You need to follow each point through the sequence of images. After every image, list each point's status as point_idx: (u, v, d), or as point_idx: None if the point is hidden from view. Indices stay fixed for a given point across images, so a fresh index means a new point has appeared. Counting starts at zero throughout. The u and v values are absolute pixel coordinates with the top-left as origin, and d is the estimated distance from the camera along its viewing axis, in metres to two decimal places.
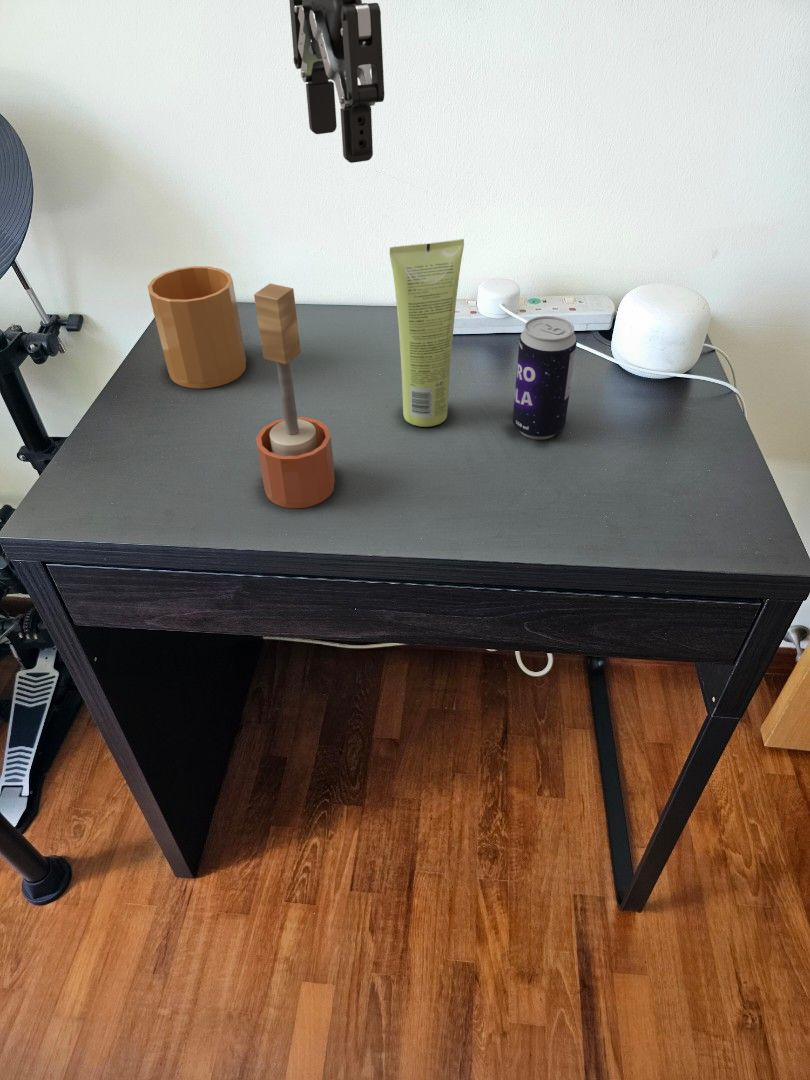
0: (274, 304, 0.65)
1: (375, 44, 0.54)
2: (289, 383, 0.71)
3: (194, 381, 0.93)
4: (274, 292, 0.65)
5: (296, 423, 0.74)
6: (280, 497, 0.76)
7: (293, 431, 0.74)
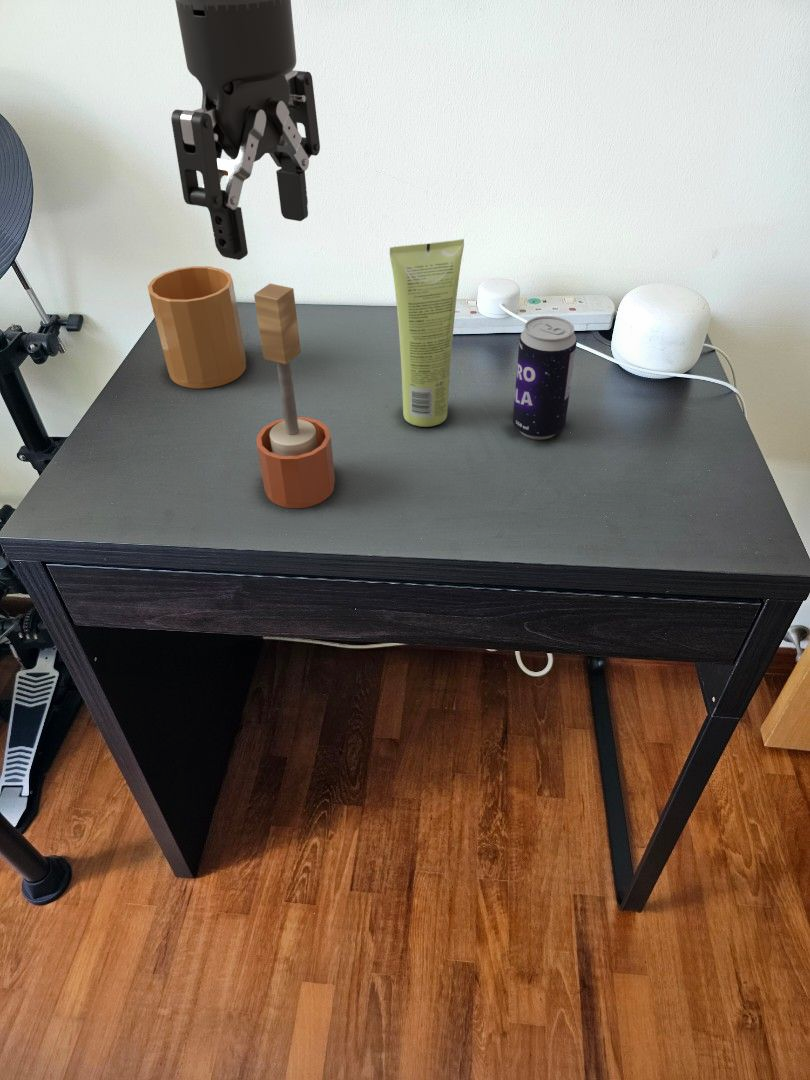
0: (274, 304, 0.65)
1: (198, 153, 0.52)
2: (289, 383, 0.71)
3: (194, 381, 0.93)
4: (274, 292, 0.65)
5: (296, 423, 0.74)
6: (280, 497, 0.76)
7: (293, 431, 0.74)
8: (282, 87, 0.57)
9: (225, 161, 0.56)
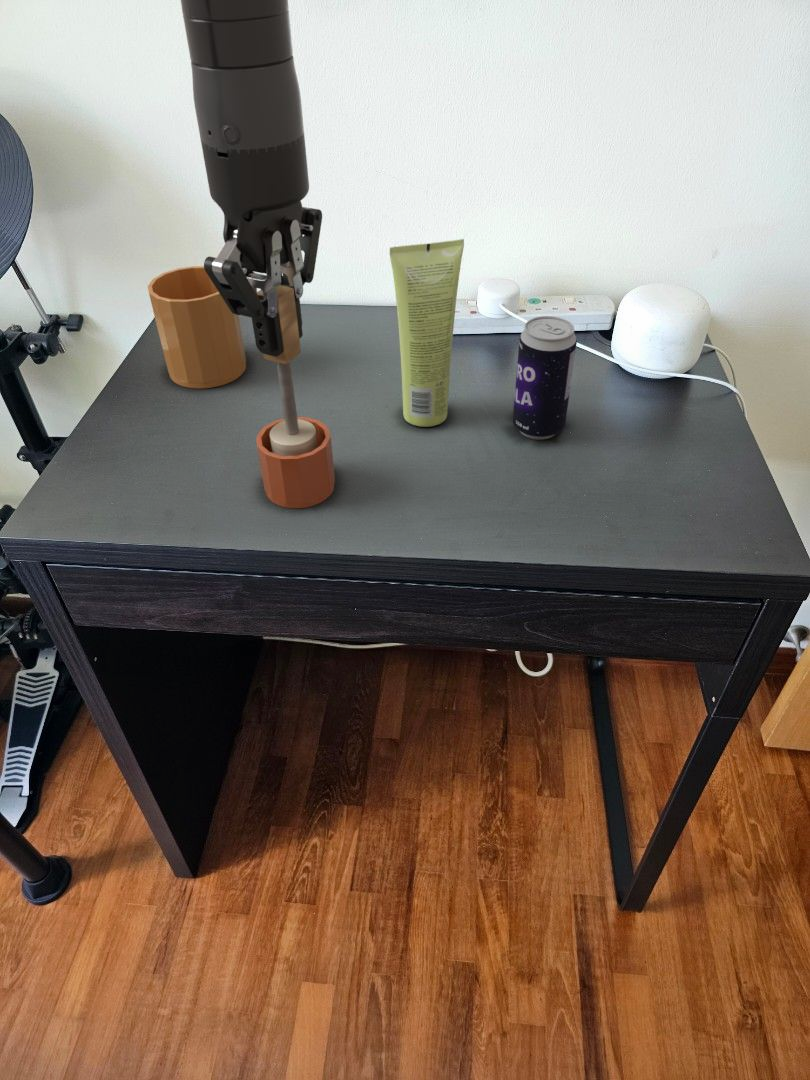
0: None
1: (235, 291, 0.60)
2: (289, 383, 0.71)
3: (194, 381, 0.93)
4: None
5: (296, 423, 0.74)
6: (280, 497, 0.76)
7: (293, 431, 0.74)
8: (295, 206, 0.63)
9: (257, 281, 0.63)
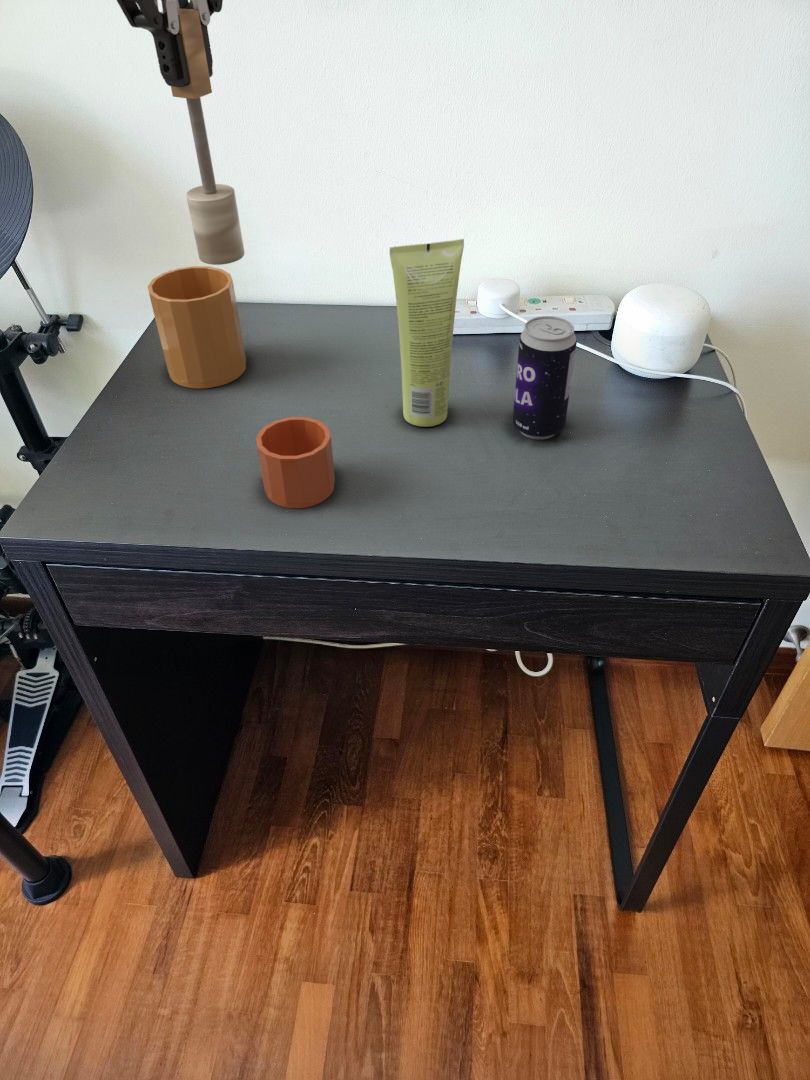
0: None
1: None
2: (202, 128, 0.69)
3: (194, 381, 0.93)
4: None
5: (213, 180, 0.72)
6: (280, 497, 0.76)
7: (210, 189, 0.72)
8: None
9: None
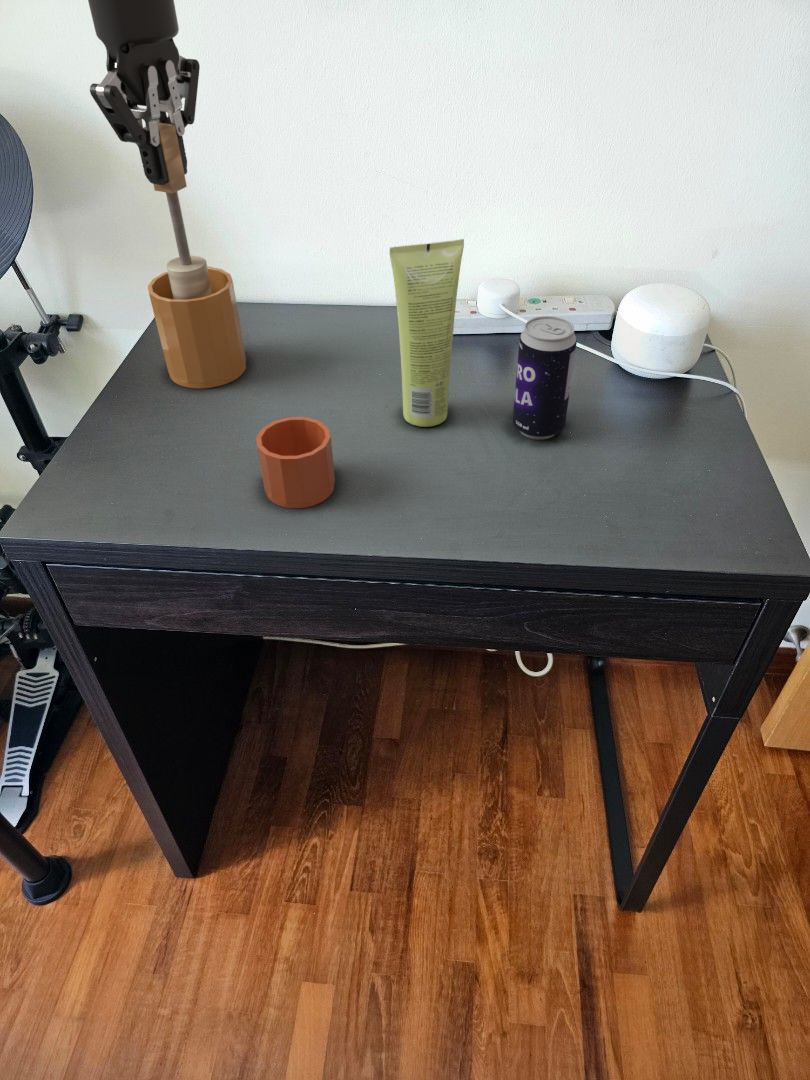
0: None
1: (117, 114, 0.73)
2: (178, 214, 0.84)
3: (194, 381, 0.93)
4: (158, 127, 0.79)
5: (188, 254, 0.87)
6: (280, 497, 0.76)
7: (186, 261, 0.88)
8: (171, 51, 0.76)
9: (139, 112, 0.76)
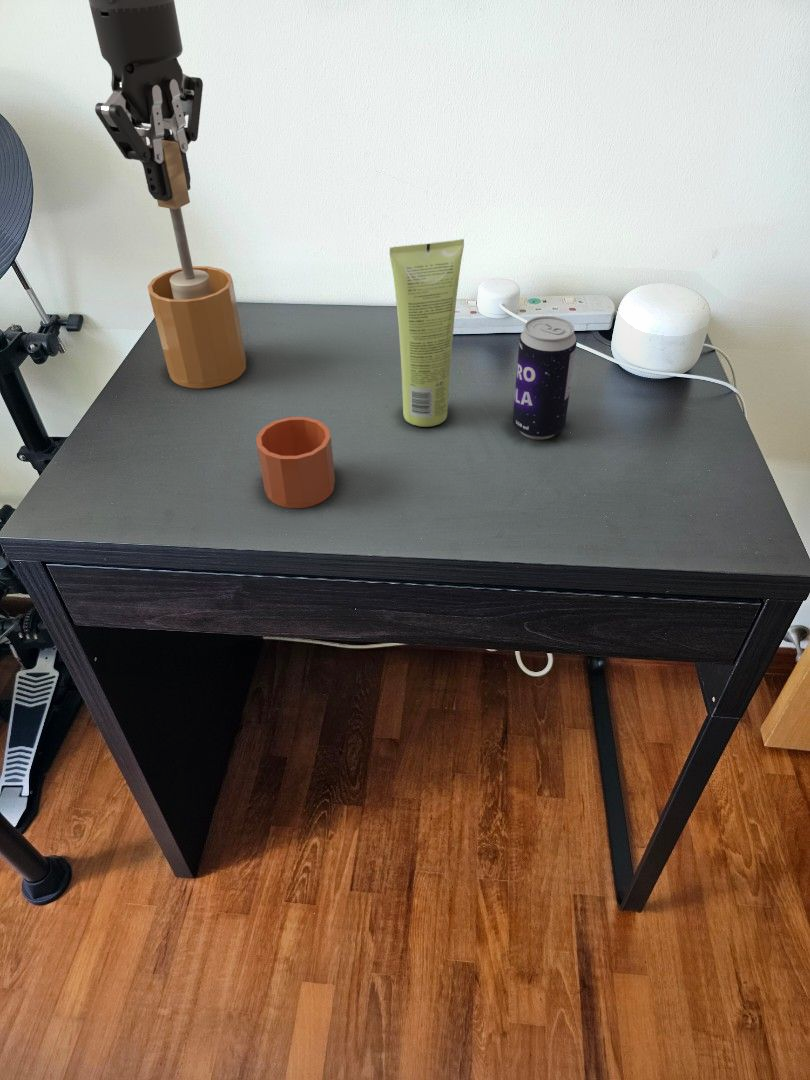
0: None
1: (122, 132, 0.75)
2: (182, 229, 0.85)
3: (194, 381, 0.93)
4: (162, 144, 0.80)
5: (191, 268, 0.89)
6: (280, 497, 0.76)
7: (189, 275, 0.89)
8: (175, 69, 0.78)
9: (144, 130, 0.77)
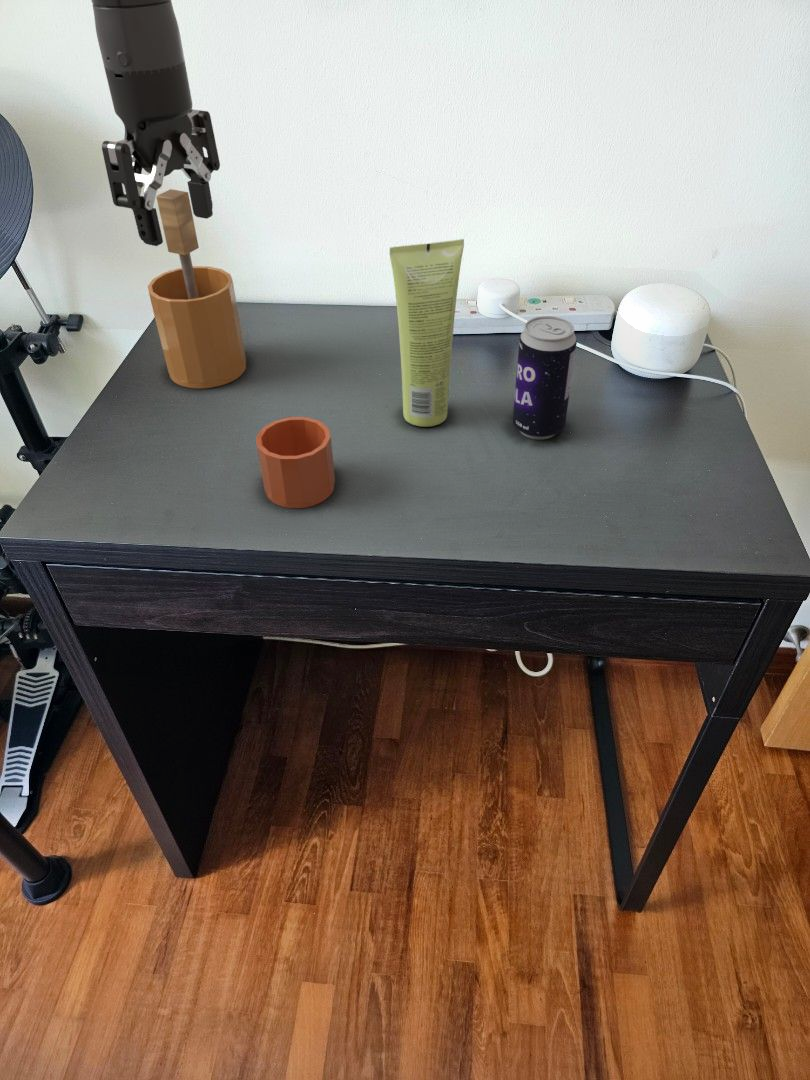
0: (171, 203, 0.83)
1: (121, 171, 0.76)
2: (191, 273, 0.89)
3: (194, 381, 0.93)
4: (172, 194, 0.83)
5: None
6: (280, 497, 0.76)
7: None
8: (185, 123, 0.81)
9: (143, 176, 0.79)
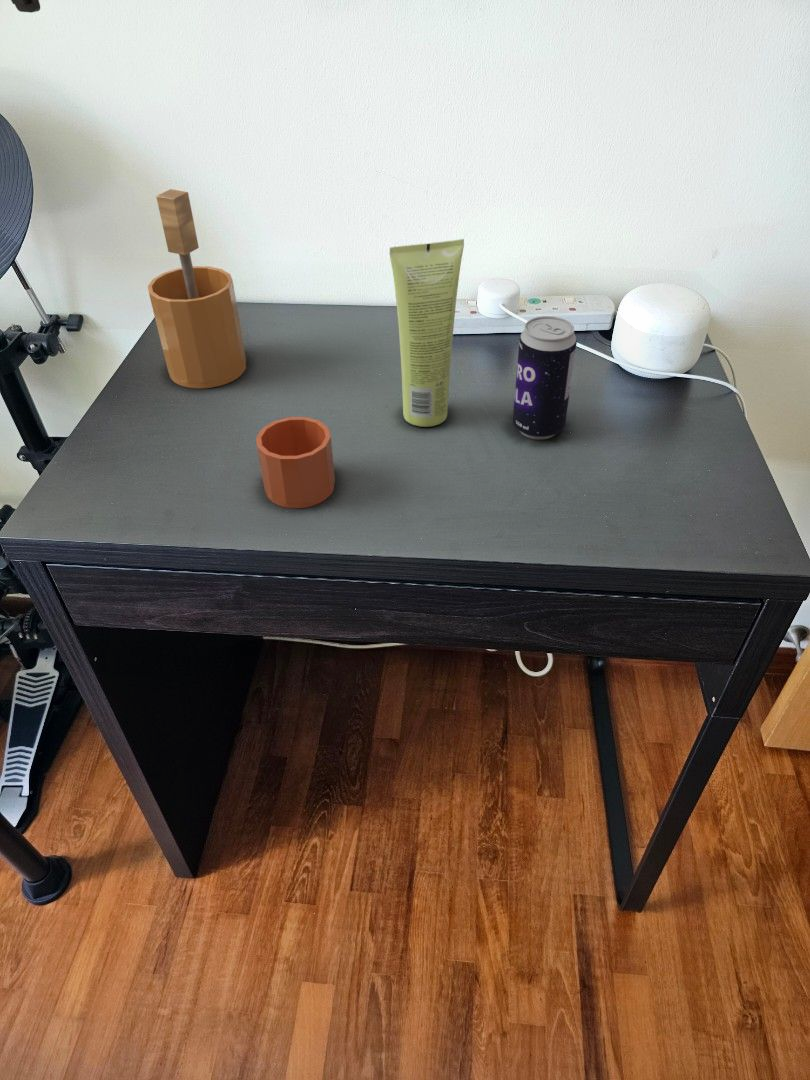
0: (171, 203, 0.83)
1: None
2: (191, 273, 0.89)
3: (194, 381, 0.93)
4: (172, 194, 0.83)
5: None
6: (280, 497, 0.76)
7: None
8: None
9: None
